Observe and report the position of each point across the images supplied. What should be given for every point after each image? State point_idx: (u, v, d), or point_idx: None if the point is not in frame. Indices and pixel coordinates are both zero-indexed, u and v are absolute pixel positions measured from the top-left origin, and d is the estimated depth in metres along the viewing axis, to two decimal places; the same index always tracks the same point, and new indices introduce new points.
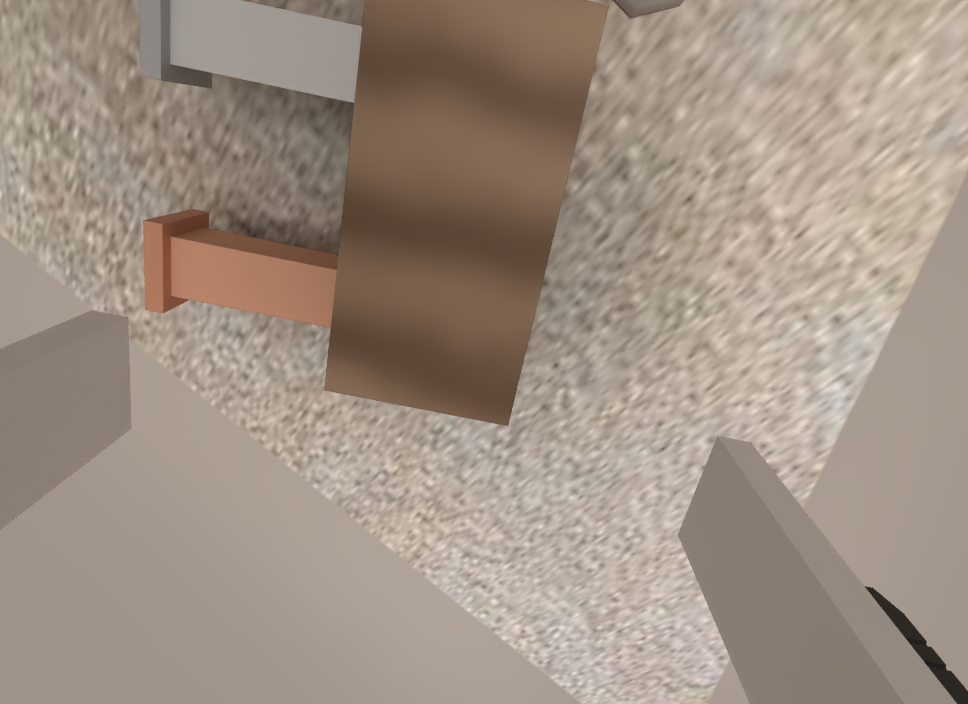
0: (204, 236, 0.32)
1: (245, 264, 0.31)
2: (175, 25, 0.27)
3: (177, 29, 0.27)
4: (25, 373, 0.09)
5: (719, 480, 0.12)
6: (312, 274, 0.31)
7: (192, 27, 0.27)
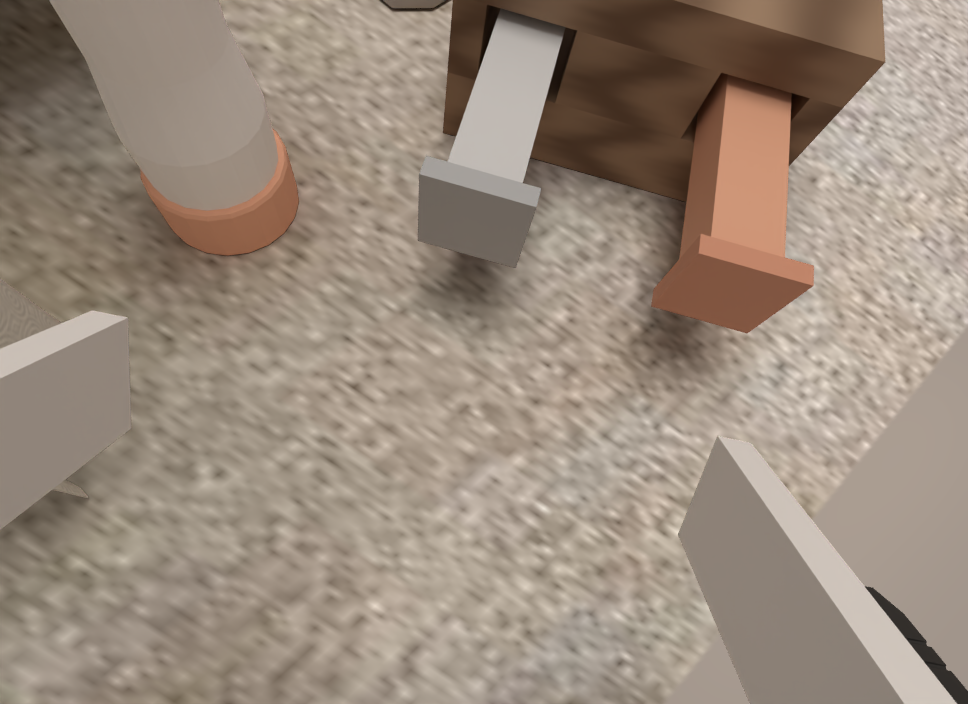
0: None
1: (732, 180, 0.26)
2: None
3: None
4: (25, 373, 0.09)
5: (719, 480, 0.12)
6: (733, 119, 0.28)
7: (485, 164, 0.25)
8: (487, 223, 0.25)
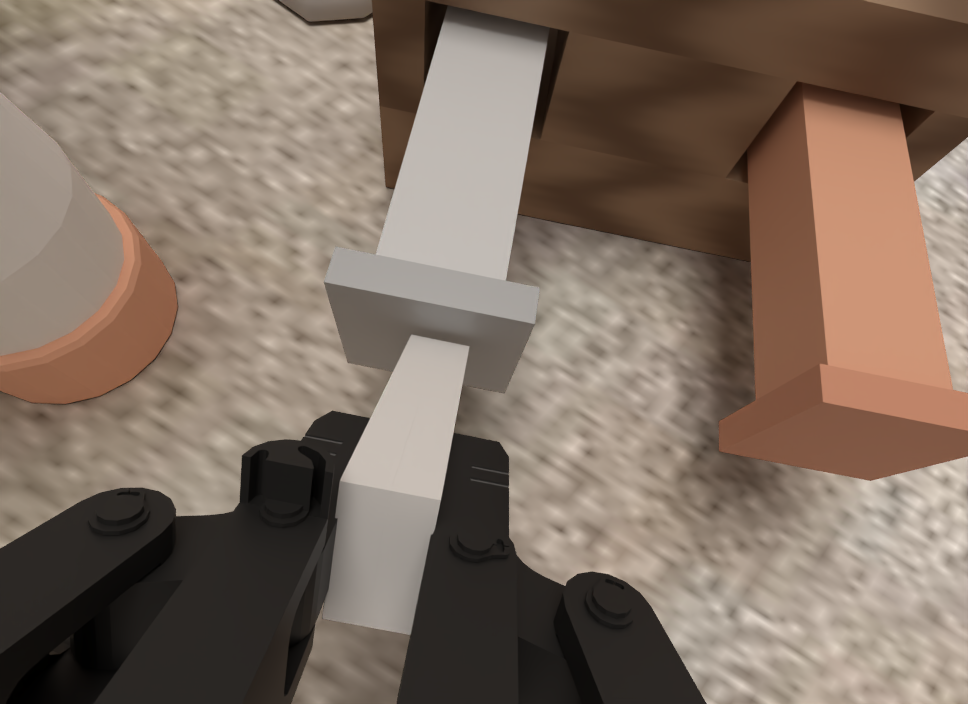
0: (792, 362, 0.16)
1: (840, 253, 0.16)
2: None
3: None
4: None
5: None
6: (823, 152, 0.18)
7: (441, 247, 0.15)
8: None
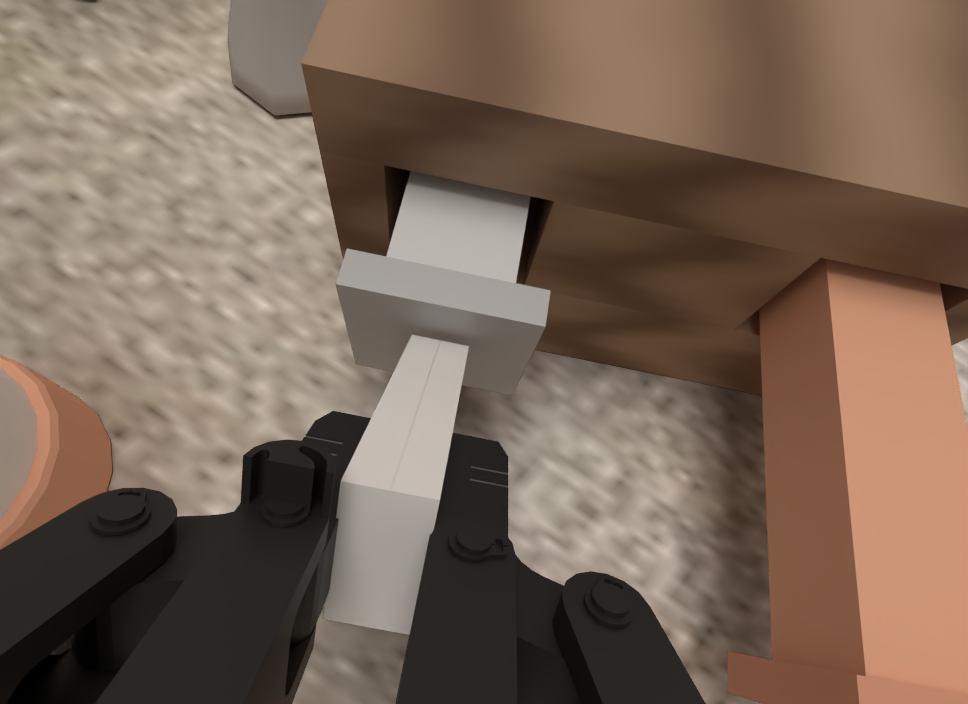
0: (817, 615, 0.14)
1: (875, 486, 0.14)
2: None
3: None
4: None
5: None
6: (852, 345, 0.15)
7: (451, 250, 0.15)
8: None
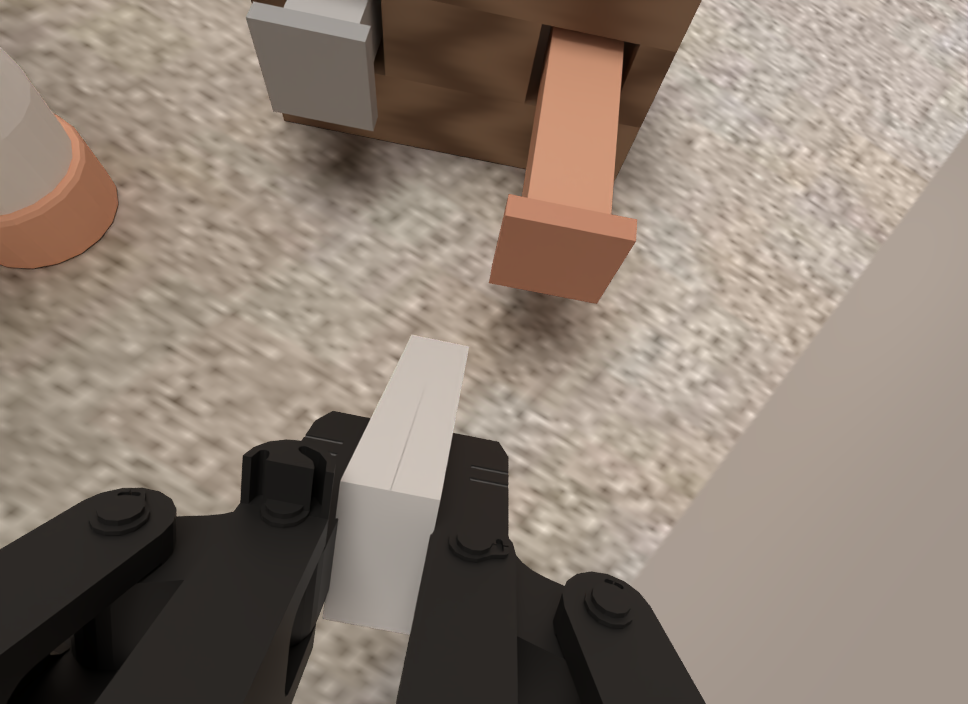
0: None
1: (554, 136, 0.24)
2: None
3: None
4: None
5: None
6: (558, 73, 0.25)
7: (319, 14, 0.25)
8: (328, 73, 0.25)
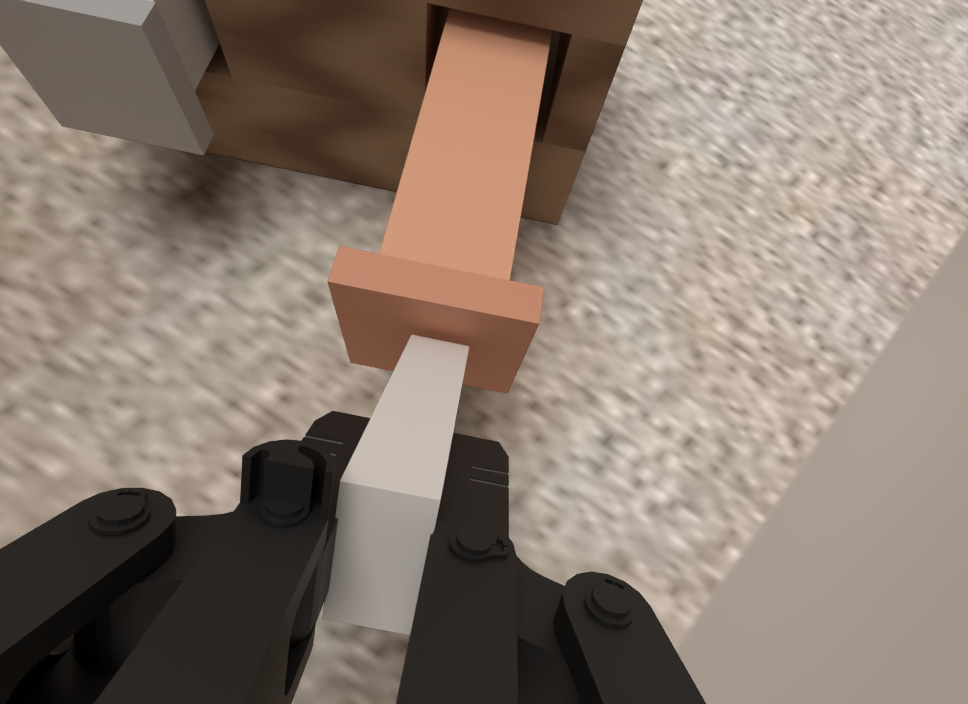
0: None
1: (434, 152, 0.16)
2: None
3: None
4: None
5: None
6: (452, 59, 0.17)
7: None
8: (110, 74, 0.17)
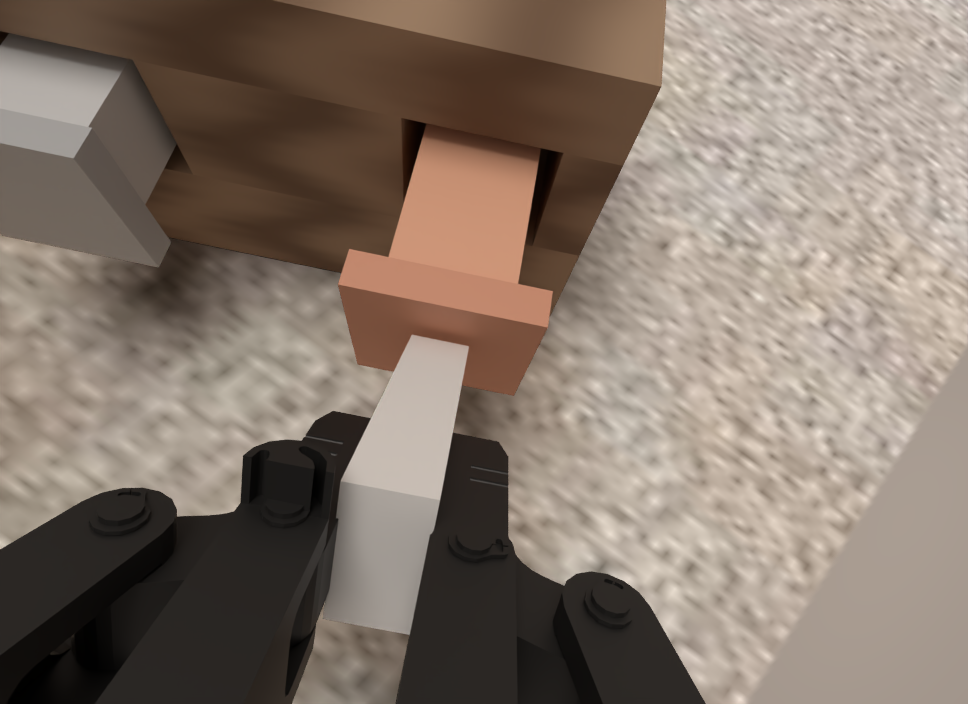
0: None
1: (443, 155, 0.16)
2: None
3: None
4: None
5: None
6: None
7: (27, 99, 0.15)
8: (47, 196, 0.15)
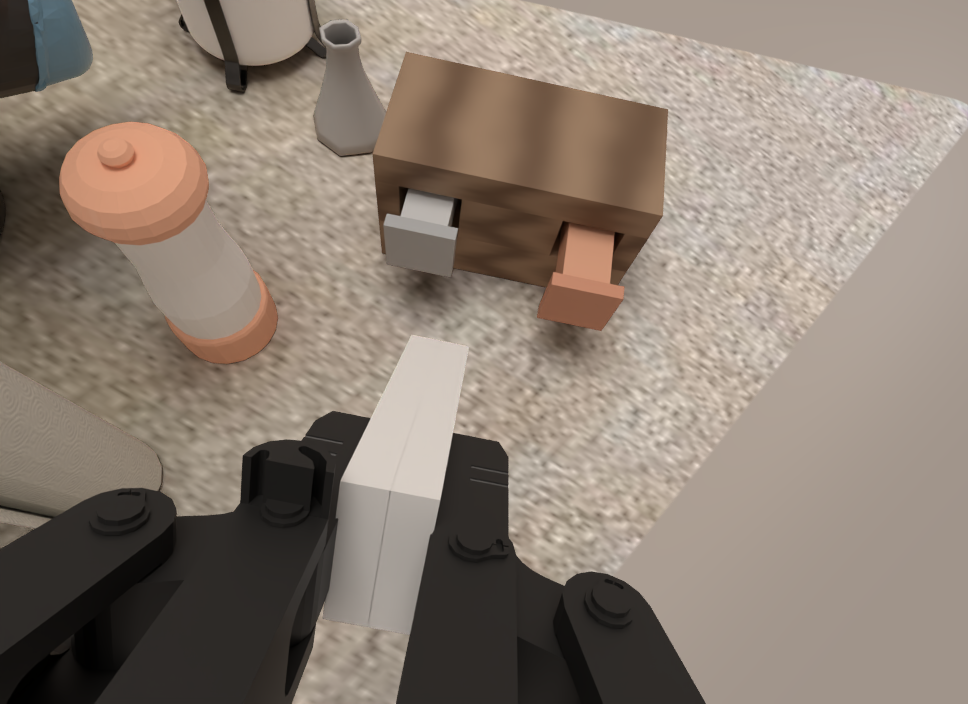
0: None
1: (577, 234, 0.41)
2: None
3: None
4: None
5: None
6: None
7: (424, 215, 0.40)
8: (428, 251, 0.41)
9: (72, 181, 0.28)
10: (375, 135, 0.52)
